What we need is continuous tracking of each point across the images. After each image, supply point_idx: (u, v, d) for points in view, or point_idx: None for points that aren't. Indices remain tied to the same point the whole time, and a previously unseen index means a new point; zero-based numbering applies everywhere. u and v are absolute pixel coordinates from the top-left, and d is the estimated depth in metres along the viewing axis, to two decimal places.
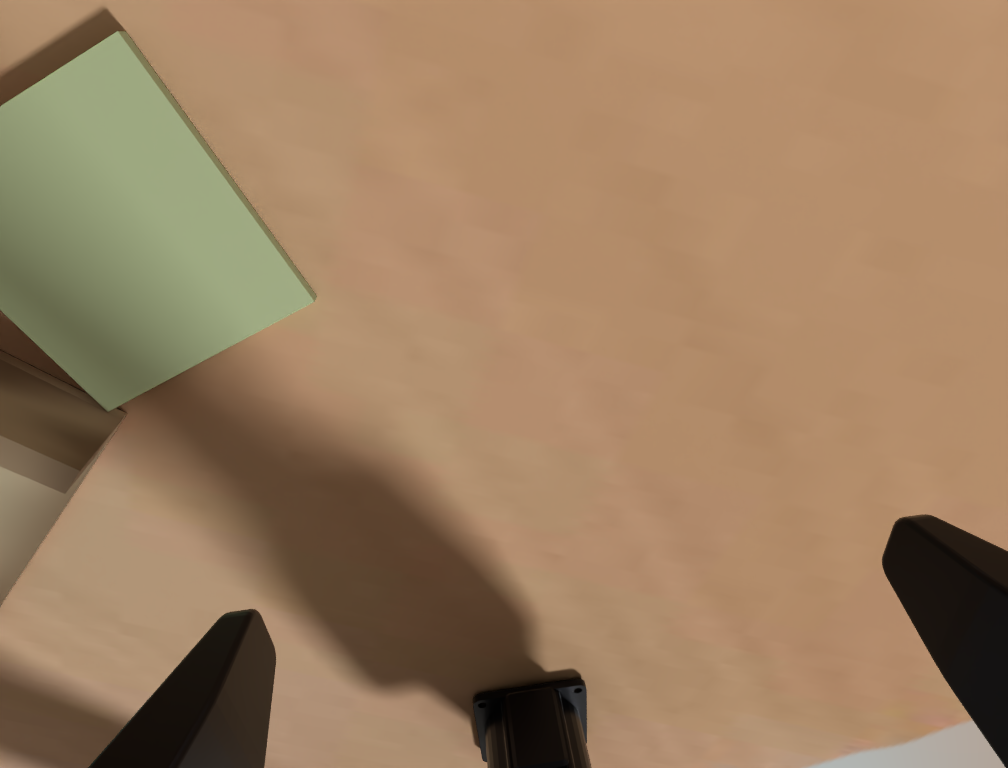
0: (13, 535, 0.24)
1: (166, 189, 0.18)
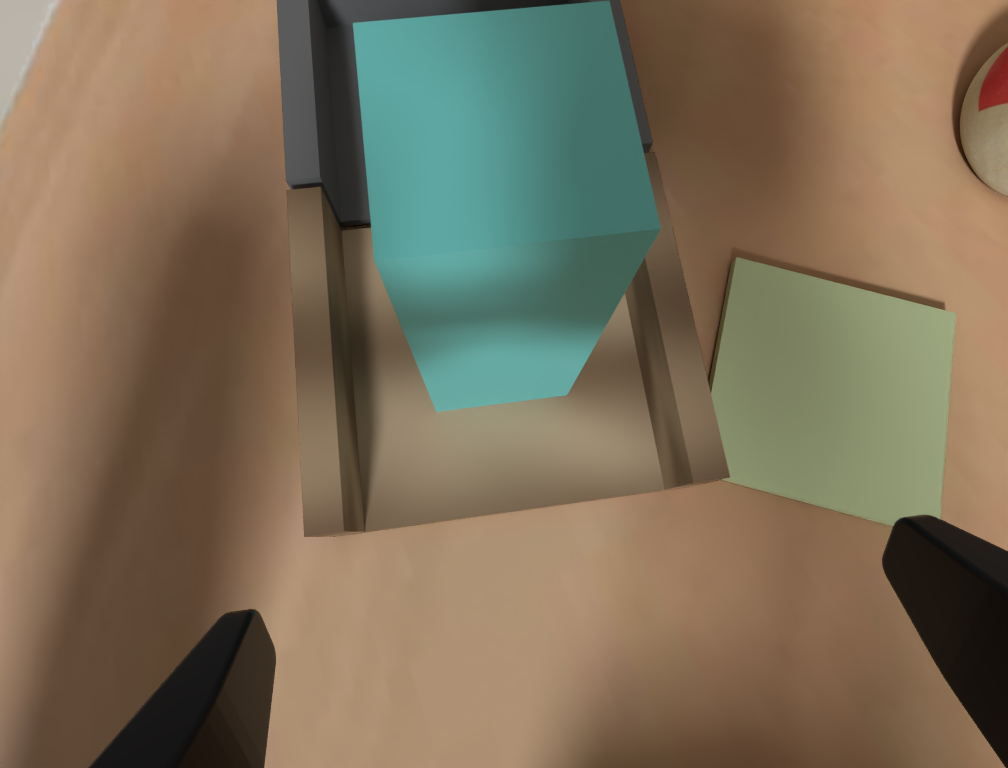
0: (483, 487, 0.21)
1: (904, 390, 0.23)
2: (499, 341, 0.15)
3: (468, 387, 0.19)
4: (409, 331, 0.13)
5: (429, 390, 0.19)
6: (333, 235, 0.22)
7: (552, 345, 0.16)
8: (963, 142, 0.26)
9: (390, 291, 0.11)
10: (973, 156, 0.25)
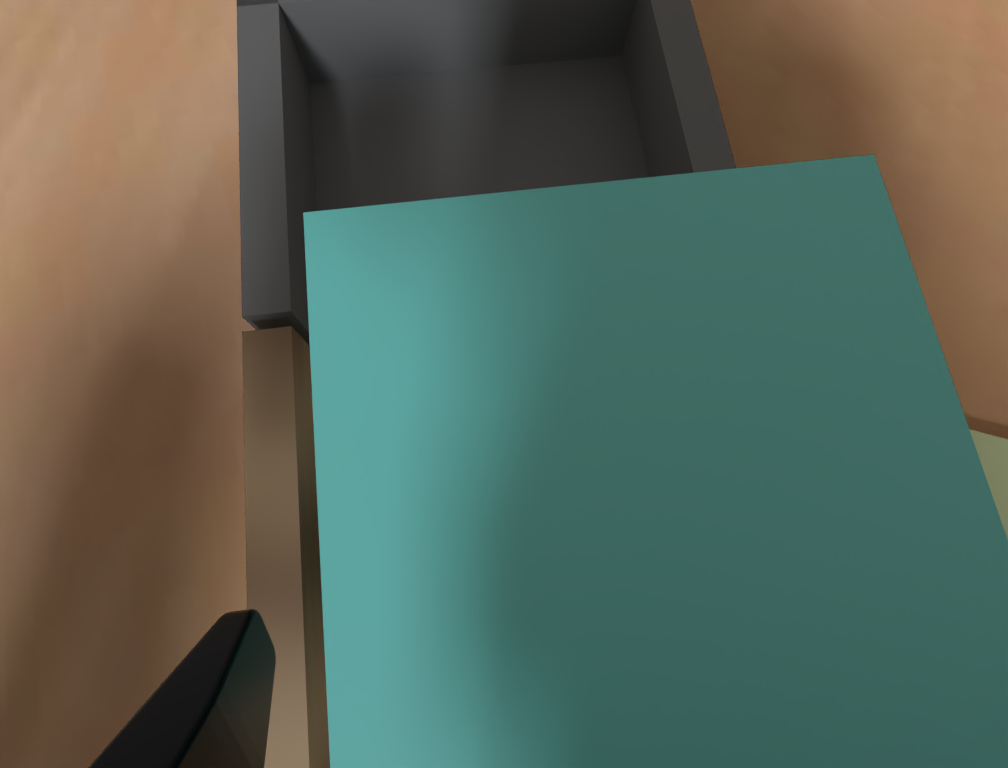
0: None
1: None
2: None
3: None
4: None
5: None
6: (311, 384, 0.16)
7: None
8: None
9: None
10: None
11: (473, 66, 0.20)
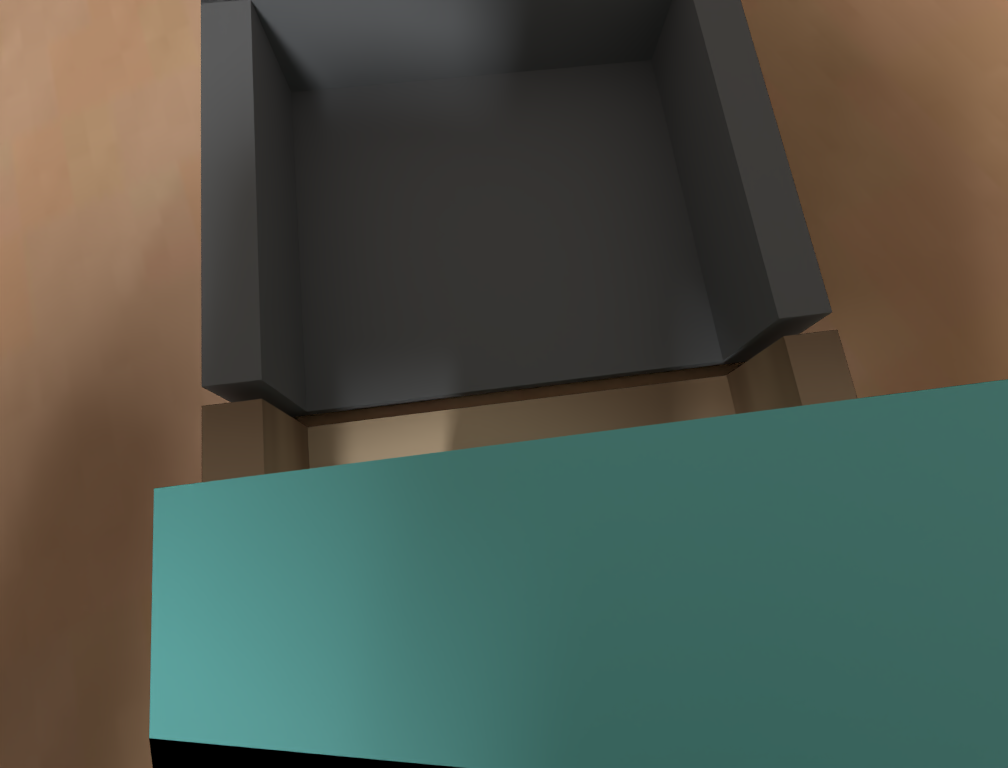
0: None
1: None
2: None
3: None
4: None
5: None
6: (288, 461, 0.13)
7: None
8: None
9: None
10: None
11: (481, 72, 0.18)
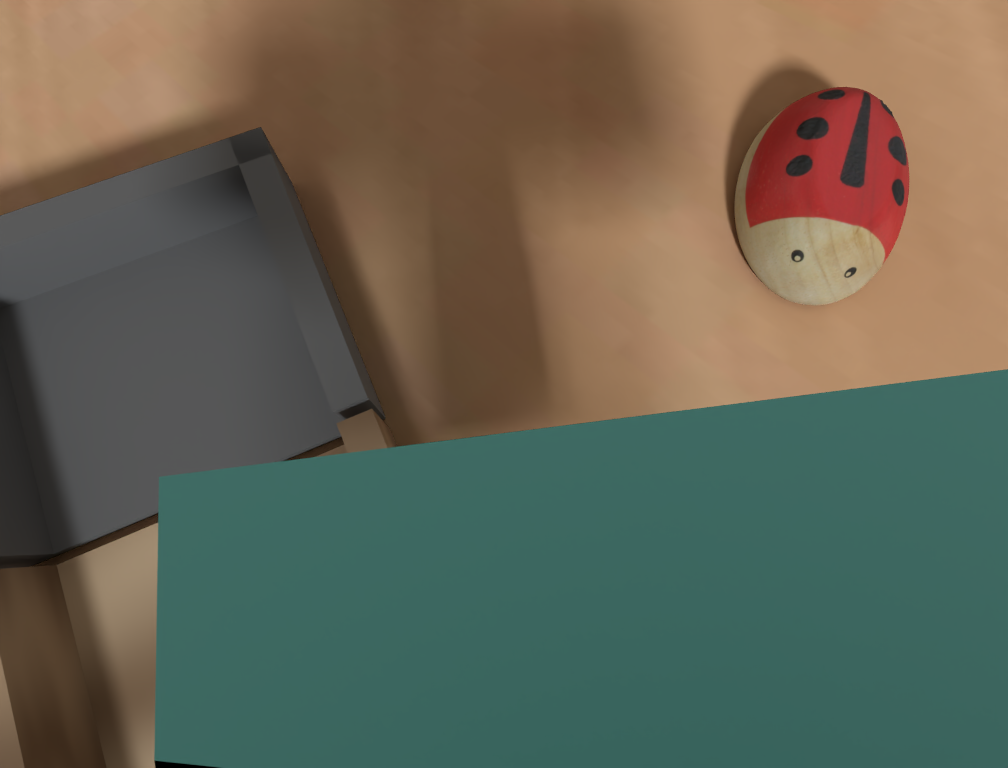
0: None
1: None
2: None
3: None
4: None
5: None
6: (28, 600, 0.18)
7: None
8: (746, 258, 0.24)
9: None
10: (760, 273, 0.24)
11: (139, 257, 0.23)
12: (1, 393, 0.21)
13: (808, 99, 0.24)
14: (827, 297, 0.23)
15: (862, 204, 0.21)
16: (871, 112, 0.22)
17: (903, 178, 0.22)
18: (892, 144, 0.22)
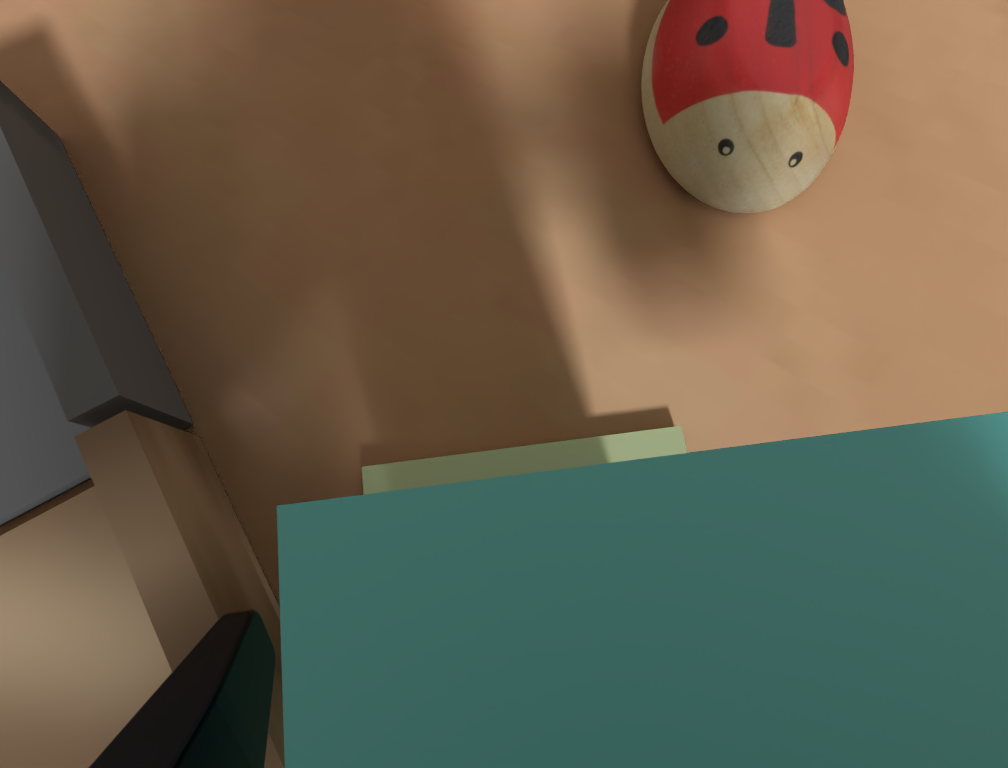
0: None
1: None
2: None
3: None
4: None
5: None
6: None
7: None
8: (665, 166, 0.19)
9: None
10: (684, 181, 0.18)
11: None
12: None
13: None
14: (771, 198, 0.18)
15: (798, 66, 0.16)
16: None
17: (844, 31, 0.17)
18: None
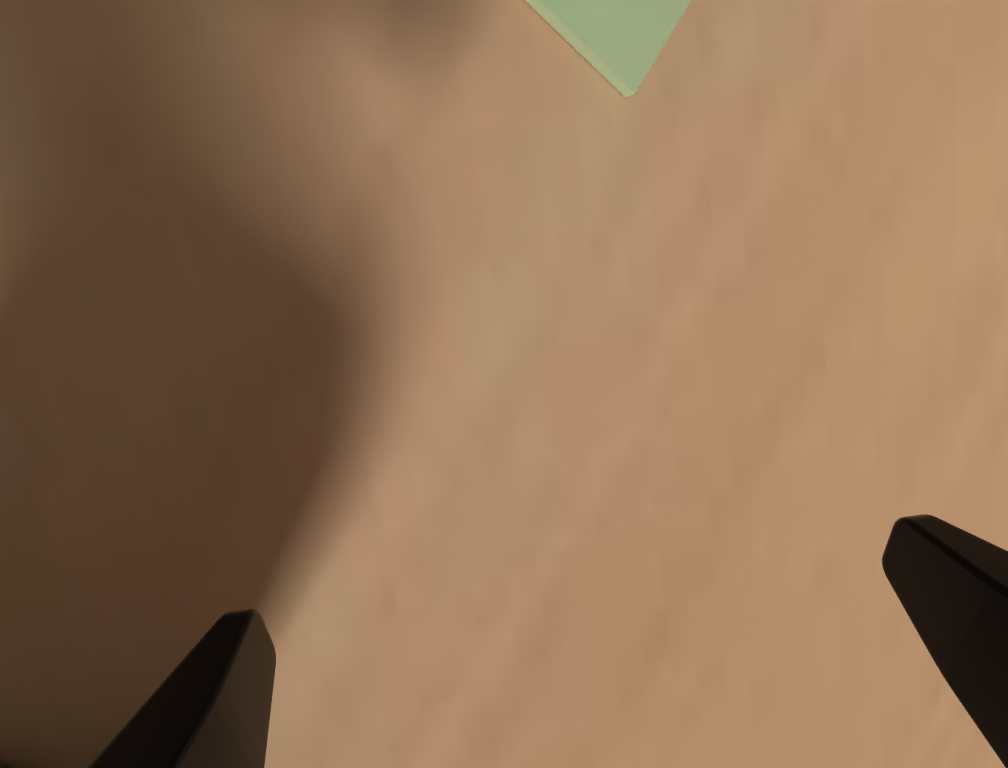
0: None
1: None
2: None
3: None
4: None
5: None
6: None
7: None
8: None
9: None
10: None
11: None
12: None
13: None
14: None
15: None
16: None
17: None
18: None
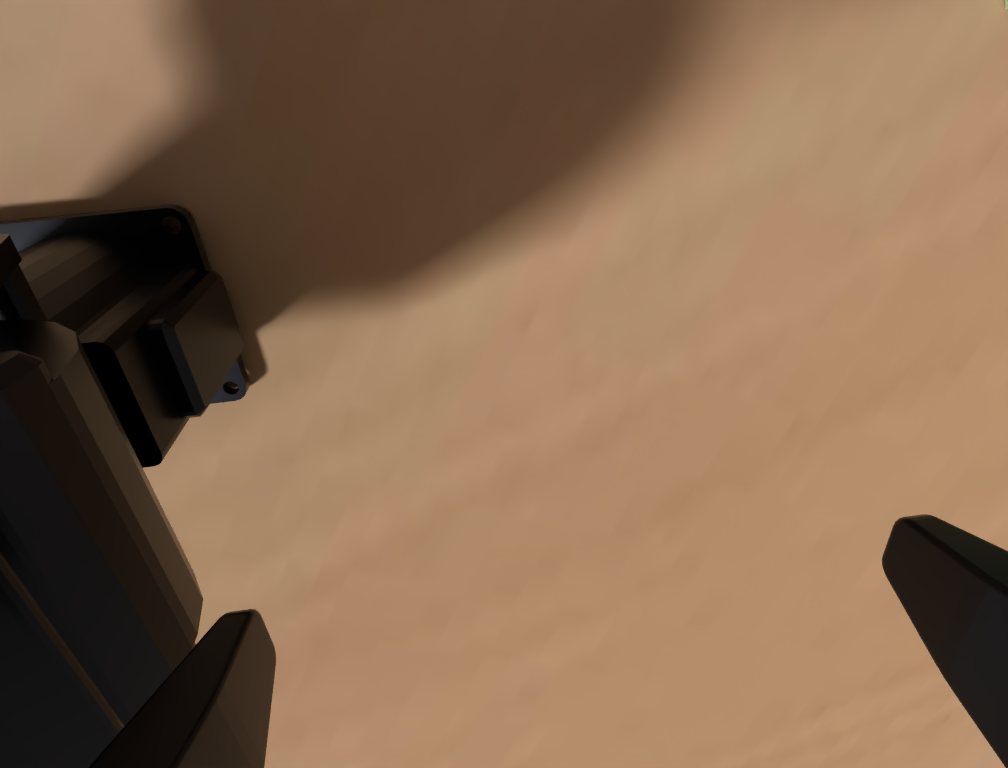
0: None
1: None
2: None
3: None
4: None
5: None
6: None
7: None
8: None
9: None
10: None
11: None
12: None
13: None
14: None
15: None
16: None
17: None
18: None
